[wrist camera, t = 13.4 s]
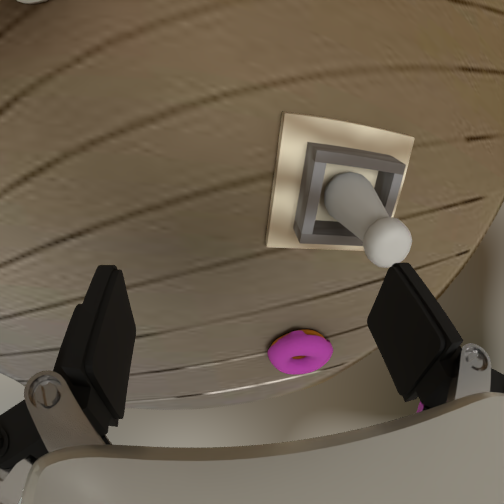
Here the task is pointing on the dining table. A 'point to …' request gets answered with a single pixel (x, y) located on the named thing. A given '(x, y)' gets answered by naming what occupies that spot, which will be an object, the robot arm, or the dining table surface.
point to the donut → (300, 352)
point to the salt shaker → (367, 218)
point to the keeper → (329, 177)
